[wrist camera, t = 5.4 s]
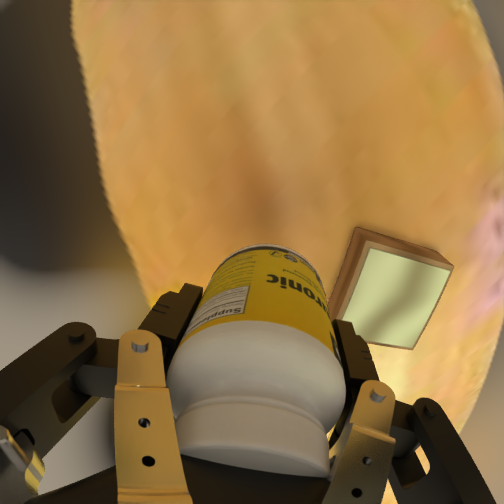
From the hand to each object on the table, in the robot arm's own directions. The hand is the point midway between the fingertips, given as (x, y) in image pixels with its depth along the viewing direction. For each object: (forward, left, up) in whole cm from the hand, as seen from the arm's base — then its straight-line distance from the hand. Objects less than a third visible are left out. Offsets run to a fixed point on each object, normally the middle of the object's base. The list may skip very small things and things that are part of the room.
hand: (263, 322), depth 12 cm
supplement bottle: (0, 0, -3) cm, 3 cm away
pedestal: (+13, -4, -17) cm, 22 cm away
